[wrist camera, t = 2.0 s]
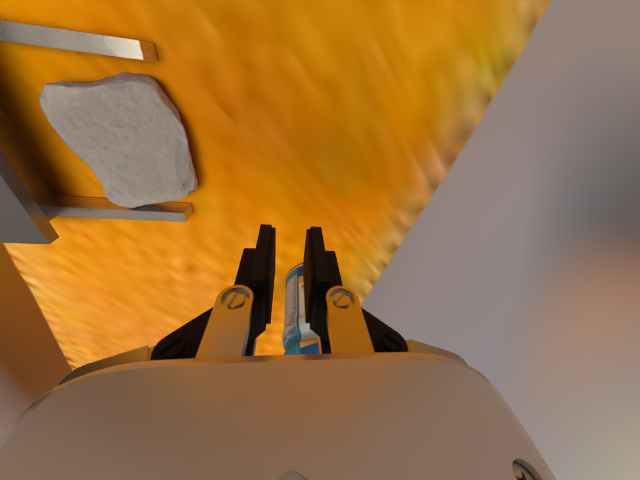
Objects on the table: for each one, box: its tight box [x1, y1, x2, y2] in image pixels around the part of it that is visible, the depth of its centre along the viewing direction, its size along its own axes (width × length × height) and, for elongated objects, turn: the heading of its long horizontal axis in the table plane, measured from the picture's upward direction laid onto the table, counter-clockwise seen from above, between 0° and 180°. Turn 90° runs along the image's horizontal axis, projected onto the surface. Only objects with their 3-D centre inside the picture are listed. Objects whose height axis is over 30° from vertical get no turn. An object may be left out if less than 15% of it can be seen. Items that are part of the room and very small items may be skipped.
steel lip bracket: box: [0, 20, 193, 244], centre depth 21 cm, size 18×18×6 cm
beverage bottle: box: [283, 264, 320, 355], centre depth 31 cm, size 8×8×20 cm
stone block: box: [39, 73, 197, 208], centre depth 23 cm, size 12×5×10 cm
